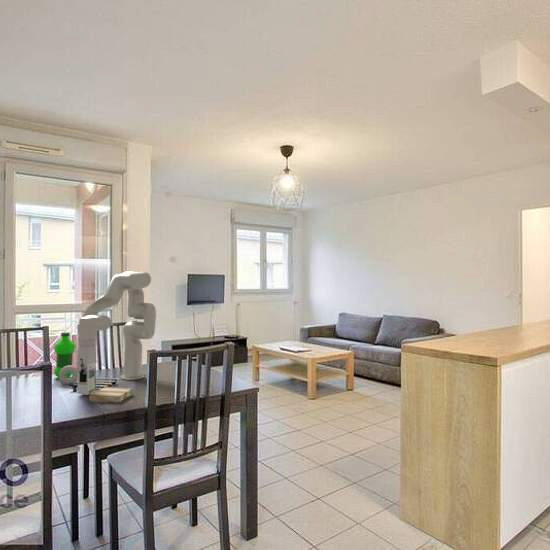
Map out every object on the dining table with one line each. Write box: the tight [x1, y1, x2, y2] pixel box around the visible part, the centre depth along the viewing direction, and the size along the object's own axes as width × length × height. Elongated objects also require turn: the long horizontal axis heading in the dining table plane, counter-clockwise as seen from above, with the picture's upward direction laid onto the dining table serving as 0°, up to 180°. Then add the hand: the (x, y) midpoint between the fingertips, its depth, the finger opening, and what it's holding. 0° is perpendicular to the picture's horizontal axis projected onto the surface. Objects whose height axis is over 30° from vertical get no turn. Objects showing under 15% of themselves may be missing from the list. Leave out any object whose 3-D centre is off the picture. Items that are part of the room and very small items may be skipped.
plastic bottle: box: [53, 331, 76, 379], centre depth 232 cm, size 10×10×25 cm
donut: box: [58, 365, 78, 385], centre depth 218 cm, size 10×4×10 cm, turn 98°
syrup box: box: [77, 362, 97, 396], centre depth 200 cm, size 6×6×14 cm
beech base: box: [88, 386, 134, 404], centre depth 196 cm, size 14×14×3 cm
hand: (86, 380), depth 200 cm, fingers closed on syrup box, 6 cm apart
